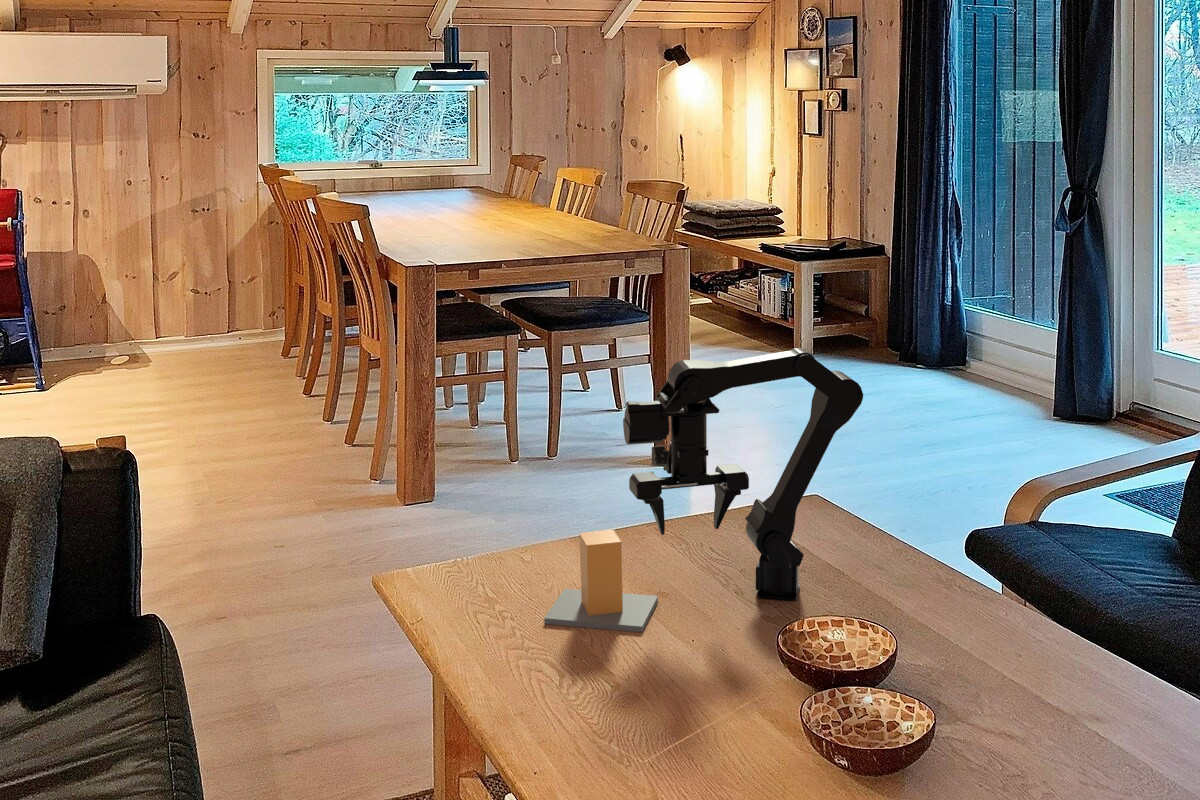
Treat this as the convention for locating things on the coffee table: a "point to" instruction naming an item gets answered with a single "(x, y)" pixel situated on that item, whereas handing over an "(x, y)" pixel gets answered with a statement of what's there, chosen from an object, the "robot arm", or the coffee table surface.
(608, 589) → the tall amber pillar
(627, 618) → the post board
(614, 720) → the coffee table surface
